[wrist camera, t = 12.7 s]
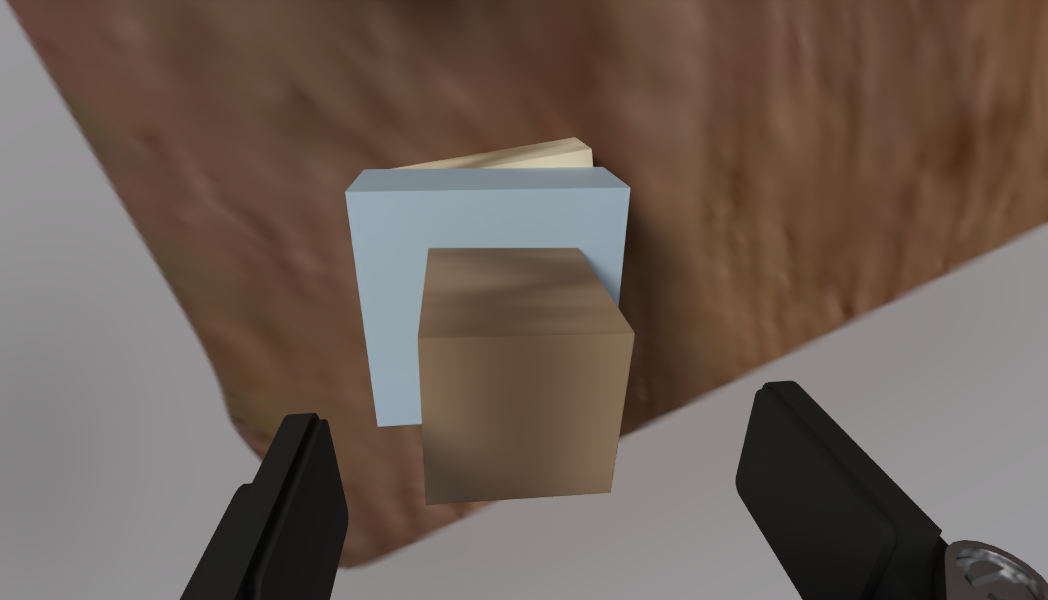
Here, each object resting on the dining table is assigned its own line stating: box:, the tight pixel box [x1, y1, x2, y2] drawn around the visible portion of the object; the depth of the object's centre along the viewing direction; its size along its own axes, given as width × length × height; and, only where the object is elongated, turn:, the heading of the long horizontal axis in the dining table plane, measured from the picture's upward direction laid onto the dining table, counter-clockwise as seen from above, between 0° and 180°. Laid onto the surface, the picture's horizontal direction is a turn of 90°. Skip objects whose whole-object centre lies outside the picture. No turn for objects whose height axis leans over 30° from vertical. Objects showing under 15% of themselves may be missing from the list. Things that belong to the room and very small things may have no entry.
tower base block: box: [394, 138, 593, 169], centre depth 23 cm, size 9×9×4 cm
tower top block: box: [345, 167, 630, 427], centre depth 20 cm, size 9×9×4 cm
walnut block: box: [417, 248, 635, 505], centre depth 15 cm, size 5×5×6 cm
